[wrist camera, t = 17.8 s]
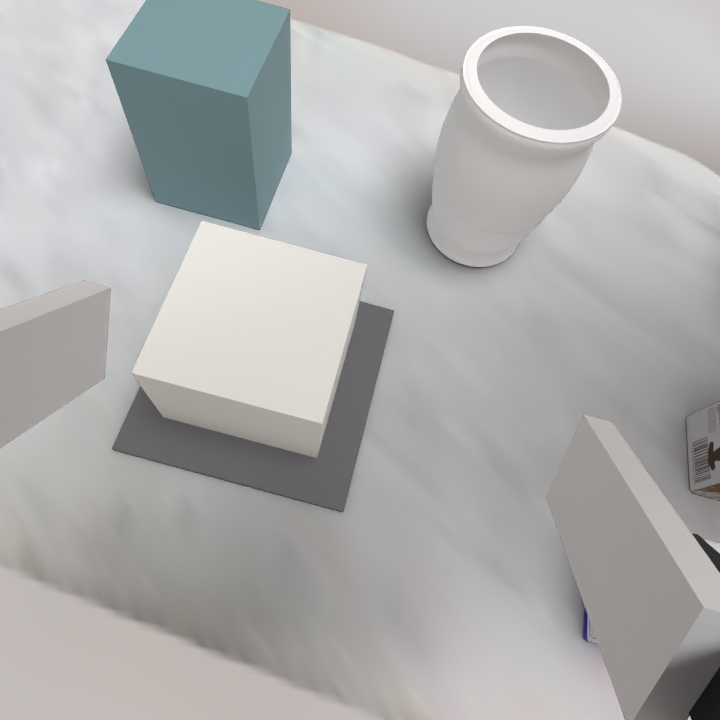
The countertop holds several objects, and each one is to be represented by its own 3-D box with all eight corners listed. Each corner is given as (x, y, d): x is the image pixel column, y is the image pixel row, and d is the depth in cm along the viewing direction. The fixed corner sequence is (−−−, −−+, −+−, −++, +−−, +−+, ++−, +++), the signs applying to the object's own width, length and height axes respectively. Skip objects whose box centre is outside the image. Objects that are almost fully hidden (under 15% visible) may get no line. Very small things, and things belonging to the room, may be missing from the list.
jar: (458, 164, 50) (518, 2, 37) (551, 226, 48) (650, 80, 35) (390, 231, 46) (429, 77, 33) (488, 302, 44) (573, 170, 31)
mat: (393, 313, 43) (394, 310, 43) (342, 512, 36) (343, 511, 36) (200, 260, 43) (199, 257, 43) (113, 449, 36) (111, 448, 36)
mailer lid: (354, 323, 42) (367, 264, 35) (317, 458, 37) (322, 423, 30) (218, 286, 42) (201, 220, 35) (163, 417, 37) (131, 372, 30)
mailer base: (291, 152, 49) (290, 9, 37) (260, 229, 45) (247, 97, 33) (195, 126, 49) (163, -25, 37) (155, 201, 45) (105, 59, 33)
